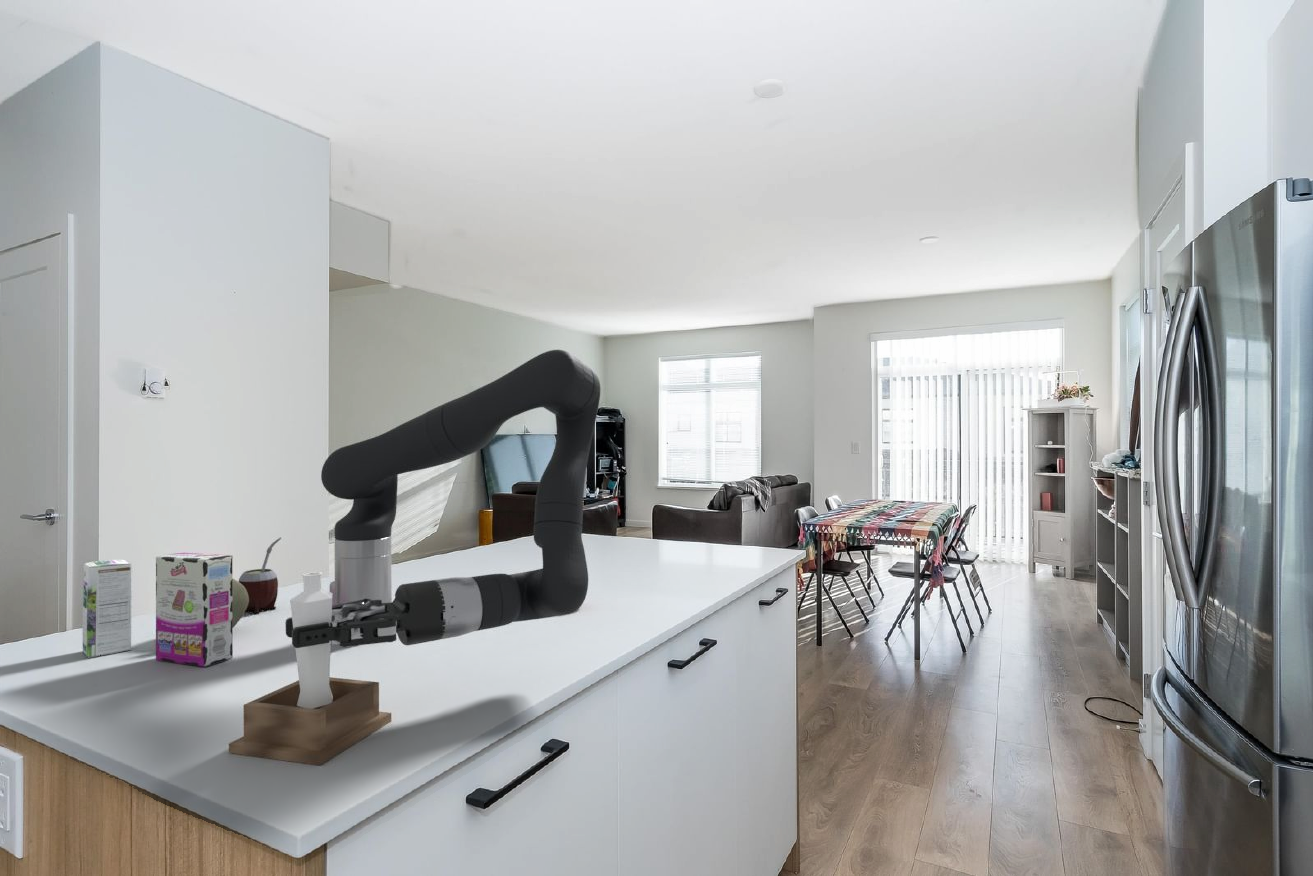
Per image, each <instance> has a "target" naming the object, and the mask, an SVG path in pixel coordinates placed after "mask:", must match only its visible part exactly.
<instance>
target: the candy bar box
mask: <svg viewBox="0 0 1313 876" xmlns="http://www.w3.org/2000/svg"><path fill="white" fill-rule="evenodd" d="M232 578H233V555H230V554H229V555H228V554H216V553H215V554H213V553H198V552H197V553H196V552H195V553H194V552H179V553H178V552H177V553H171V554H164V555H160V556H156V557H155V660H156V661H159V662H160V661H161V662H167V663H175V664H180V665H187V666H195V667H203V668H205V667H207V668H208V667H209V666H213V665H216V664H219V663H223V662H226V661H229V660H232V659H233V653H234V652H233V650H234V649H233V628H232V614H233V613H232V599H233V597H232V595H233V594H232V590H233V589H232Z"/></svg>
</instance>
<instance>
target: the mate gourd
mask: <svg viewBox="0 0 1313 876" xmlns="http://www.w3.org/2000/svg"><path fill="white" fill-rule="evenodd" d="M281 539H282V537H279V538H277V539H276V540H275V541H273V542H272V543H271V544H270V545H269V547H267V550H266V552H265V553H266V554H265V556H264V557H265V558H264V560H263V564H262V567H261V568H258V569H250V570H245V571H243V572H242V573H241V574H240V576H239V578H238V582H240V583H241V584H242V585H243V586H244V587H245V589H246V590H247V593H248V597H249V603H248V606H247V609H246V610H245V612H244V613H254V615H259V614H260V613H261V612H264V611H275V610H276V608H277V607H276V605H275V604H276V603H277V602H276V601H277V598H278V593H279V592H278V591H279V590H278V589H279V587H278V586H279V580H278V576H277V573H276V572H275V571H274V570H273V569H272V568H271V569H270V568H266V567H267V563H268V560H269V557H270V554H271V553H272V552H273V551H272V550H273V547H274V546H275V545H276V544H277V543H278V542H279V541H280V540H281Z"/></svg>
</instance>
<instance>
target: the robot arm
mask: <svg viewBox="0 0 1313 876" xmlns="http://www.w3.org/2000/svg"><path fill="white" fill-rule="evenodd" d="M601 389H602V388H601V382H600V379H599V377H598V375H597V374H596V373H595V372H594V370H593V369H592V368H590V367H589V366H588V365H586V364H585V363H584V362H582V361H581V360H580V359H578V357H577V356H575V355H574V354H572V353H570V352H568V351H566V350H563V349H551V350H547V351H544V352H542V353H540V354H538V355H536V356H535V357H532V358H530V359H529V360H528V361H526V362H524V363H522V364H521V365H519V366H518V367H516V368H514V369H512V370H511V371H509V372H507V373H506V374H504V375H503V376H501V377H498V378H497V379H495V380H494V381H491V382H489V383H487V384H485V385H482V386H481V387H479V388H477V389H474V390H472V391H471V392H468V393H467V394H465V395H461V396H459V397H457V398H455V399H452V400H450V401H447V402H445V403H443V404H441V405H439V406H438V405H437V406H436V407H435V408H432V409H430V410H428V411H426V412H424V413H422V414H420V415H419V416H416V417H414V418H412V419H410V420H408V421H405V422H403V423H402V424H399V425H398V426H396V427H393V428H392V429H390V430H388V431H386V432H384V433H380V434H379V435H376V436H374V437H371V438H369V439H368V438H367V439H365V440H362V441H359V442H355V443H351V444H349V445H346V446H342V447H340V448H337V449H335V450H334V451H333V452H332V453H330V455H329V456H328V457H327V458H326V459H325V461H324V463H323V466H322V469H321V473H320V474H321V477H320V478H321V479H320V480H321V484H322V485H323V488H324V489H325V490H326V491H327V492H328V493H329V494H331V495H332V496H334V497H335V498H337V499H338V498H339V499H341V500H350V501H351V500H352V501H353V502H352V503H353V504H352V507H351V508H350V510H349V512H348V513H347V514H345V515H344V516H343V517H342V518H341V519H339V520H337V521H336V523H335V524H334V537H333V538H334V543H333V545H334V580H333V581H331V582H330V583H329V592H331V593H332V621H331V622H330V626H329V623H328V622H325V623H319V624H312V625H306V626H299V627H295V628H293V622H292V616H291V617H287V619H286V620H285V635H286V637H288V638H291V645H292V647H294V648H301V647H307V646H313V645H319V644H324V643H329V641H331V645H339V647H341V648H348V647H355V646H356V647H357V646H363V645H364V646H365V645H374V644H381V643H382V644H383V643H384V644H385V643H394V642H395V641H397V637H398V639H399V641H400V642H401V644H402V645H403V646H412V645H413V646H414V645H419V644H423V643H429V642H434V641H440V640H446V639H450V638H451V639H452V638H455V637H460V636H463V635H467V634H469V633H473V632H478V631H483V630H489V629H494V628H498V627H499V628H500V627H503V626H506V625H510V624H512V623H516V622H525V621H532V620H541V619H547V618H553V617H561V616H565V615H571V614H573V613H576V611H578V610H579V609H580V608H581V607H582V605H583V604H584V602H585V600H586V597H587V593H588V589H589V571H588V563H587V558H586V553H585V552H586V551H585V547H584V544H583V540H582V539H583V537H582V533H583V518H584V517H583V516H584V498H585V497H584V496H585V495H584V494H585V483H586V482H585V479H586V473H587V467H588V462H589V461H588V460H589V457H590V449H591V445H592V439H593V433H594V430H595V429H594V428H595V425H596V419H597V414H598V411H599V406H600V398H601ZM538 408H540V409H541V408H543V409H545V410H547V411H549V412H550V413H552V414H553V415H554V417H555V424H556V439H555V446H554V449H553V453H552V456H551V458H550V460H549V462H548V463H547V466H546V467H545V469H544V471H543V473H542V476H541V478H540V480H539V482H538V485H537V486H538V487H537V489H536V490H537V491H536V494H535V495H536V496H535V503H534V505H535V506H534V520H533V541H534V543H535V545H536V546H537V547H539V548H540V549H541V555H542V568H538V569H533V570H529V571H523V572H518V573H517V572H516V573H511V574H507V573H493V574H491V573H489V574H483V575H482V574H481V575H475V576H469V577H468V576H467V577H466V576H465V577H464V576H462V577H461V576H460V577H458V576H456V577H447V578H440V579H439V578H438V579H432V580H424V581H418V582H417V581H416V582H410V583H402V584H400V585H399V586H397V588H396V590H395V593H394V596H395V597H394V599H393V600H392V597H393V596H392V594H393V593H392V588H393V587H392V585H393V584H392V529H393V524H394V522H395V520H396V516H397V503H398V502H397V501H398V478H399V477H398V475H402V474H406V473H410V472H411V473H412V472H415V471H420V470H425V469H429V468H434V467H438V466H442V465H445V464H449V463H451V462H455V461H457V460H460V459H462V458H464V457H467V456H470V455H472V454H474V453H476V452H478V451H480V450H482V449H484V448H485V447H486V446H487V445H488V444H489V443H490V442H491V441H492V439H494V437H495V436H496V434H497V433H498V431H499V430H500V428H501V427H502V426H503V425H504V423H506V422H507V421H509V420H510V419H512V418H513V417H516V416H518V415H520V414H524V413H525V412H530V411H531V410H534V409H538Z"/></svg>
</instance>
